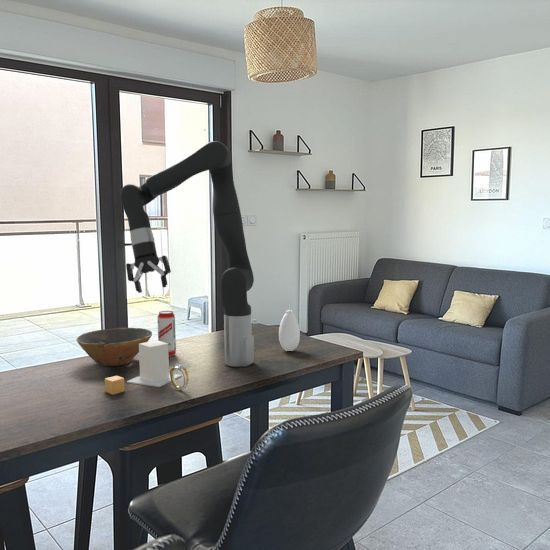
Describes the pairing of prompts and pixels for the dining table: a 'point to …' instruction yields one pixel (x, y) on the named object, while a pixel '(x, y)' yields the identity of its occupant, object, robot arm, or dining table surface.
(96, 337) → the bowl
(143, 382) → the mat
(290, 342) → the sauce bottle
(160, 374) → the white rectangular block
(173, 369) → the ring
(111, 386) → the fully visible orange block
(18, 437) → the dining table surface
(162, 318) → the beer can
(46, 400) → the dining table surface
